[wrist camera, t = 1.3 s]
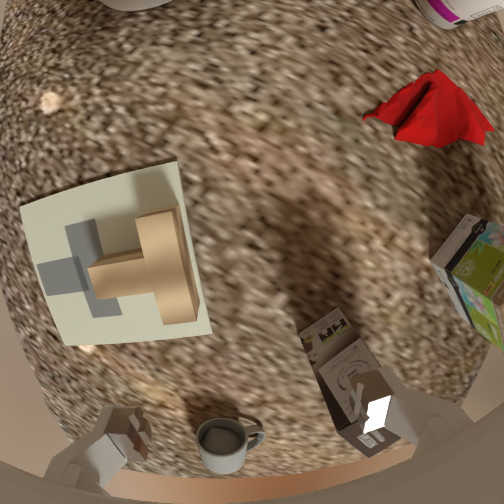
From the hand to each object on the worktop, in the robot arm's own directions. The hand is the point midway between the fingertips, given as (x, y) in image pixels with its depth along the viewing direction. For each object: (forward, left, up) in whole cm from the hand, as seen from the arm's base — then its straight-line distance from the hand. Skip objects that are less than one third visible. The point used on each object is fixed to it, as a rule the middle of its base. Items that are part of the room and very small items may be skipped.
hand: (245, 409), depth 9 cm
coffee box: (+15, +11, -23) cm, 29 cm away
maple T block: (0, -10, -22) cm, 24 cm away
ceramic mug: (+30, -6, -23) cm, 38 cm away
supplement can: (-32, +34, -23) cm, 52 cm away
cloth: (-14, +30, -23) cm, 40 cm away
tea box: (+9, +34, -23) cm, 42 cm away
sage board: (0, -15, -22) cm, 27 cm away
